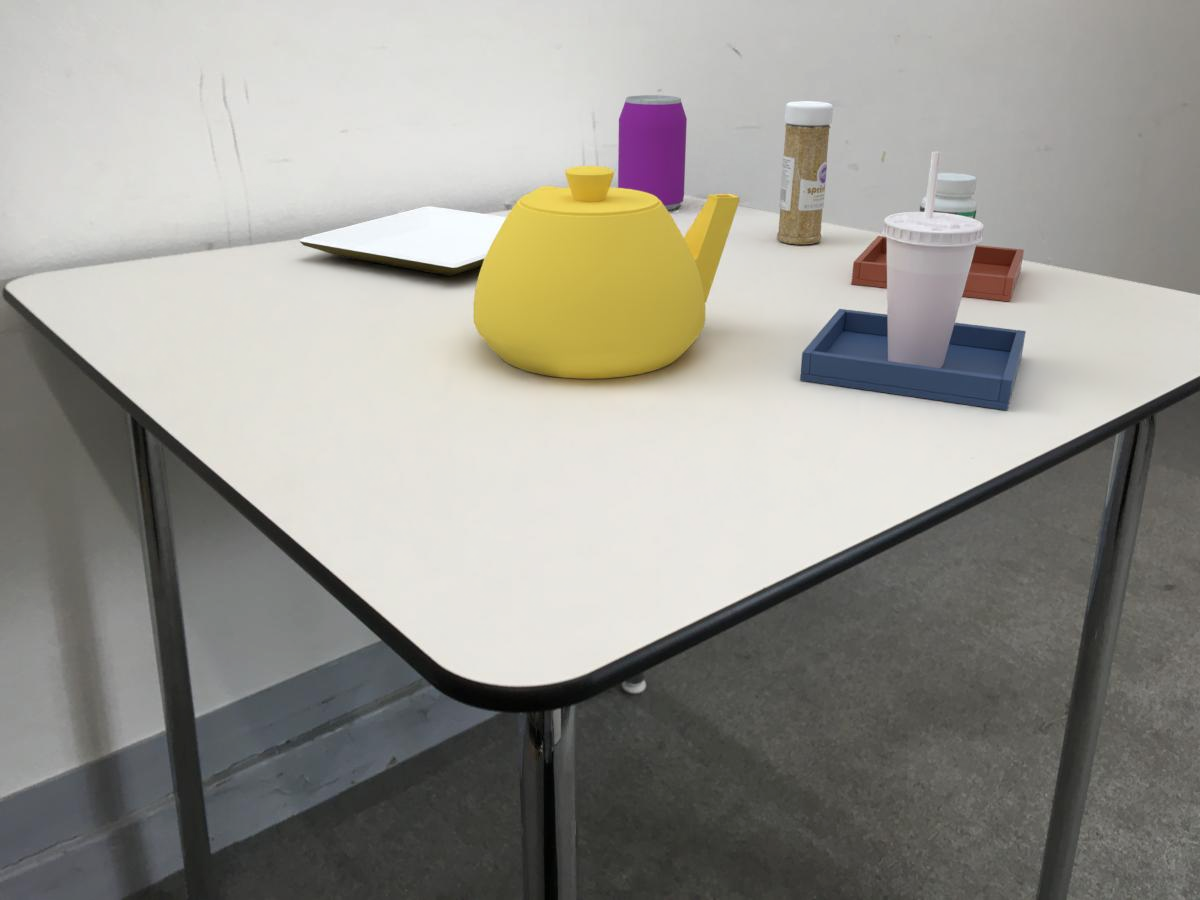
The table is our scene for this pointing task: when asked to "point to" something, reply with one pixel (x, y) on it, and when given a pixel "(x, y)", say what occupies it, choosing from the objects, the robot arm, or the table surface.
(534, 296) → the teapot
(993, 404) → the blue tray
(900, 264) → the smoothie
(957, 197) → the pill bottle
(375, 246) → the plate
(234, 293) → the table surface
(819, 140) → the sprinkles bottle
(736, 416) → the table surface
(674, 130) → the beverage can
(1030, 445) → the table surface
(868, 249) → the terracotta tray
